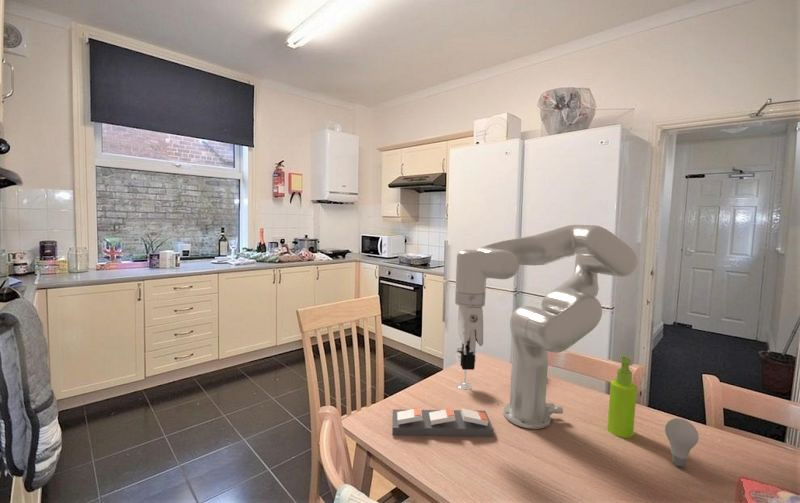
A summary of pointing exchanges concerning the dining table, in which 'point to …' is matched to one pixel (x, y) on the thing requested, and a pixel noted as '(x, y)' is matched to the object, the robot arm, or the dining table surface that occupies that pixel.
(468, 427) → the strip
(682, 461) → the lightbulb
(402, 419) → the block
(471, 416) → the rocker
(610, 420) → the soap dispenser
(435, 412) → the rocker middle
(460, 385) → the wineglass
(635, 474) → the dining table surface
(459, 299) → the robot arm
